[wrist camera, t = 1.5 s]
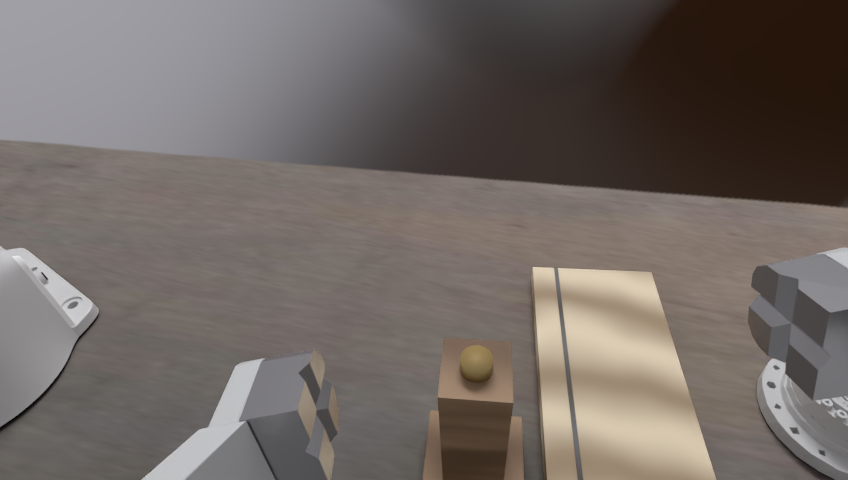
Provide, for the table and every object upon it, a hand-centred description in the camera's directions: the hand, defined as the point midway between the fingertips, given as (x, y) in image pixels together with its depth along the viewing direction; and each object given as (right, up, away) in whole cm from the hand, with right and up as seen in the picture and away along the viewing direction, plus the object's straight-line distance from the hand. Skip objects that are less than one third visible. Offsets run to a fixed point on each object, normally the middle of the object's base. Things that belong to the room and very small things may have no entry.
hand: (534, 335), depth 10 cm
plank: (+11, -10, +26) cm, 30 cm away
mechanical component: (+26, -11, +25) cm, 38 cm away
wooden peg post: (+1, -14, +23) cm, 27 cm away
